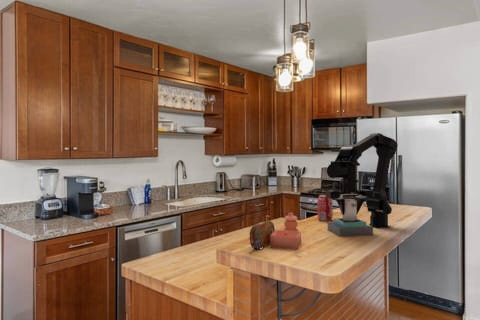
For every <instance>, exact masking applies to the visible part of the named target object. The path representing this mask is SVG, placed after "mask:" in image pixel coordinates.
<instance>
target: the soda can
mask: <svg viewBox="0 0 480 320" xmlns="http://www.w3.org/2000/svg"><path fill="white" fill-rule="evenodd" d="M333 210H334V209H333V199H331V198H327V197H326V194H320V195H318V198H317V219H318V220H319V221H322V222H330V221H331V220H332V219H333Z"/></svg>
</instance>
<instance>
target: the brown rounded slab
mask: <svg viewBox="0 0 480 320" xmlns="http://www.w3.org/2000/svg"><path fill="white" fill-rule="evenodd" d="M275 230H276V228H275V224H274V223H273V221H271V220H265V221H261V222H258V223H257V224H254V225H253V226H252V227H251V228H250V231H249V245H250V247H252V249H255V248H256V249H255V250H261V249H260V248H262V247H264V246H266V247H268V246H270V245H269V244H270V235H271V234H272V233H273V232H274V231H275ZM267 245H268V246H267ZM264 248H265V247H264Z"/></svg>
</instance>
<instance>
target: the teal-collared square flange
mask: <svg viewBox="0 0 480 320" xmlns="http://www.w3.org/2000/svg"><path fill="white" fill-rule="evenodd" d="M327 230H328V231H329V232H332V233H333V234H335V235H336V236H339V237H359V236H373V235H374V227H373V226H371V225H368V224H367V221H364V220H362V219H360V218H357V220H356V221H346V220H343V217H338V218H337V217H335V218H333V222H332V221H331V222H327Z"/></svg>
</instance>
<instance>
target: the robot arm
mask: <svg viewBox="0 0 480 320" xmlns="http://www.w3.org/2000/svg"><path fill="white" fill-rule="evenodd" d="M372 147H374V148H375V152H376V155H377V157H378V158H377V164H376V169H375V174H374V175H375V176H374V181H373V185H372V186H373V187H372V189H368V188H367V189H365V188H364V189H361V188H360V189H358V187H357V186H358V183H359V179H357V178H358V177H357V176H358V175H357V174H358V171H357V169H358V168H357V167H359V166H361V164H360V162H358V160H359V159H360V158H361V157H362V156H363V153H364V152H365V151H367V150H369V149H370V148H372ZM397 149H398V142H397V141H396V140H395V139H394V138H391V137H389V136H387V135H384V134H382V133H379V132H375V133H370V134H369V135H368V136H366V137H365V138H362V139H361V140H360V141H357V142H356V143H354V144H349V145H345V146H342V147H341V148H340V149H339V152H338V154H337V155H336V158H335V160H332V161H330V164H328V166H327V168H326V173H327V176H328V178H331V179H340V178H341V179H340V182H338V181H332V189H331V190H326V191H325V195H326V197H327V198H331V199H332V200H334V201H336V203H337V204H338V208H339V210H340V214H341V215H342V216H343V215H344V211H345V198H344V197H353V198H354V200H357V215H359V212H360V209H361V208H362V206H363V204H364V202H365V204H366V208H367V212H368V213H370V216H369V218H370V219H369V221H370V223H369V225H368V226H371V227H373V228H376V229H379V228H380V227H384V228H391V226H390V225H389V215H390V214H392V211H393V209H392V207H391V205H390V204H389V202H388V199H389V198H388V195H387V192H386V187H387V180H388V176H389V175H388V174H389V171H390V165H391V159H393V157H394V156H395V155H396V153H397Z"/></svg>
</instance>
